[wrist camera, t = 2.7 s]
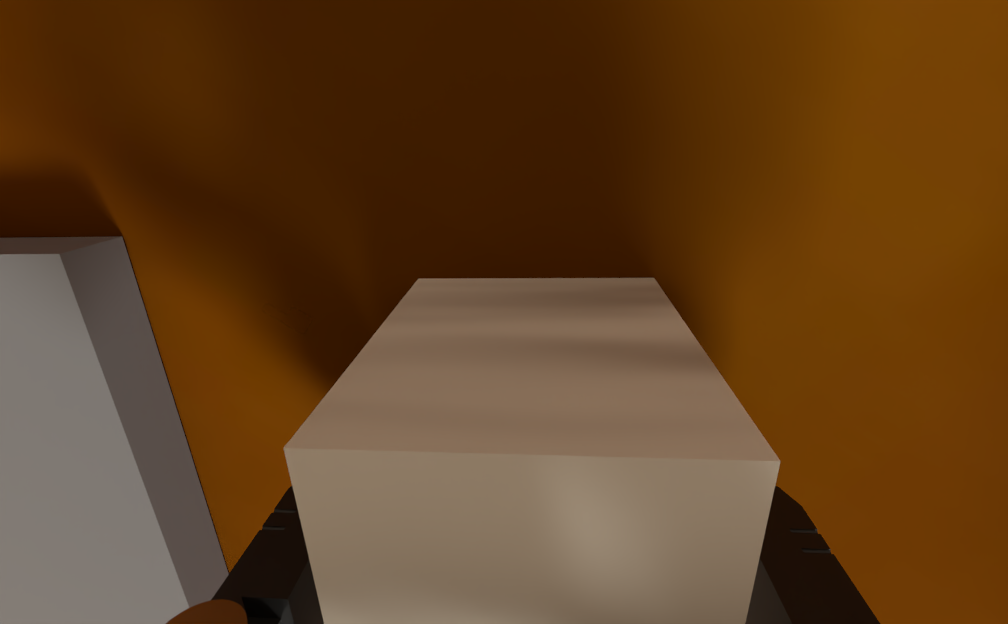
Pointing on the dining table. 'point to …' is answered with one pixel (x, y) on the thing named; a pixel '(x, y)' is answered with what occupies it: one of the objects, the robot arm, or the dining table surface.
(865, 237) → the dining table surface
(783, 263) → the dining table surface
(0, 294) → the baseplate
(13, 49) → the dining table surface
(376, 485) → the cream brick
